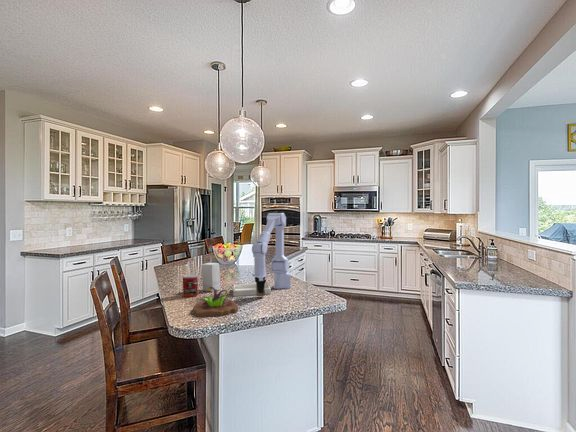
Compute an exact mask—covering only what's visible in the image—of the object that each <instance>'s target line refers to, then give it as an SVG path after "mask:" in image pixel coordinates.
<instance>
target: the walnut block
mask: <svg viewBox="0 0 576 432" xmlns="http://www.w3.org/2000/svg"><path fill="white" fill-rule="evenodd" d="M255 284H256V283H255ZM256 292H257V295H256V296H257V297H265V295H266V294H265V285H264V290H263V293H259V292H258V287H257V284H256Z"/></svg>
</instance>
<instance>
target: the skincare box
mask: <svg viewBox="0 0 576 432" xmlns="http://www.w3.org/2000/svg"><path fill="white" fill-rule="evenodd" d="M220 273H221V272H220V263H219V262H206V263H202V264H201V276H202V277H201V278H202V279H201V280H202V291H204V292H210V293H211V292H212V293H214V290H213V288H214V289H216V290H218V291H219V290H220V291H221V275H220ZM209 287H213V288H212V289H211V290H210V291H208V288H209Z"/></svg>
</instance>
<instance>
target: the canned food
mask: <svg viewBox="0 0 576 432" xmlns="http://www.w3.org/2000/svg"><path fill="white" fill-rule="evenodd" d="M198 281H199V278H198V274H196V273H195V274H194V273H191V274H189V273H188V274H184V275H183V276H182V294H183V295H182V296H183V298H185V299H186V298H188V299H190V297H191V298H196V297H198V294H199V288H198V287H199V286H198V285H199V282H198Z"/></svg>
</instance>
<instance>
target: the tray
mask: <svg viewBox="0 0 576 432" xmlns="http://www.w3.org/2000/svg"><path fill="white" fill-rule="evenodd" d="M232 292H233V294H232V295H233V297H242V296H243V297H244V296H257V292H256V283H248V284H247V283H246V284H245V283H244V284H234V285H233V291H232ZM271 294H272V289H271V286H270V283H269V282H265V295H271Z"/></svg>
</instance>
